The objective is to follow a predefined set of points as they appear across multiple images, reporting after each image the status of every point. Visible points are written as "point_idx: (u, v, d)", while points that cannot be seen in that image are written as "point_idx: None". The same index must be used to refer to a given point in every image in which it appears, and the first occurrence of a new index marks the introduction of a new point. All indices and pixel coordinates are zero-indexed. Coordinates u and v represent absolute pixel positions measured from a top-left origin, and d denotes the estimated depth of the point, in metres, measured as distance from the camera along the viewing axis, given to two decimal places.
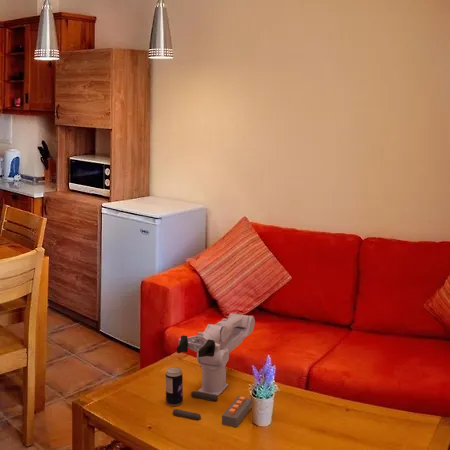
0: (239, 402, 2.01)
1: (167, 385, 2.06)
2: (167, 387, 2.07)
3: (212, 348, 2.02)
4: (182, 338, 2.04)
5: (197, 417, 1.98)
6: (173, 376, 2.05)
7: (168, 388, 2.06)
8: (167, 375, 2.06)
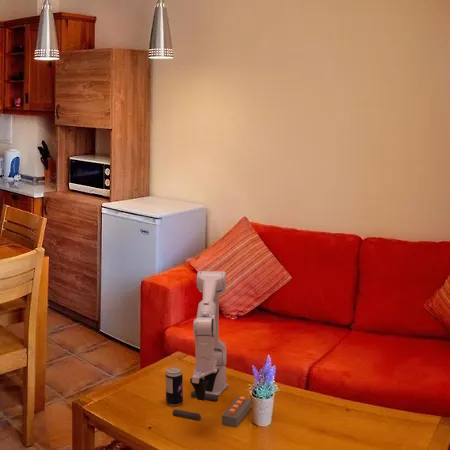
0: (239, 402, 2.01)
1: (167, 385, 2.06)
2: (167, 387, 2.07)
3: None
4: (205, 386, 1.87)
5: (197, 417, 1.98)
6: (173, 376, 2.05)
7: (168, 388, 2.06)
8: (167, 375, 2.06)
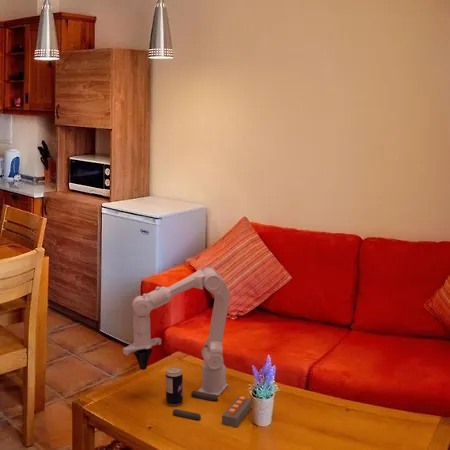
0: (239, 402, 2.01)
1: (167, 385, 2.06)
2: (167, 387, 2.07)
3: None
4: (142, 357, 2.09)
5: (197, 417, 1.98)
6: (173, 376, 2.05)
7: (168, 388, 2.06)
8: (167, 375, 2.06)
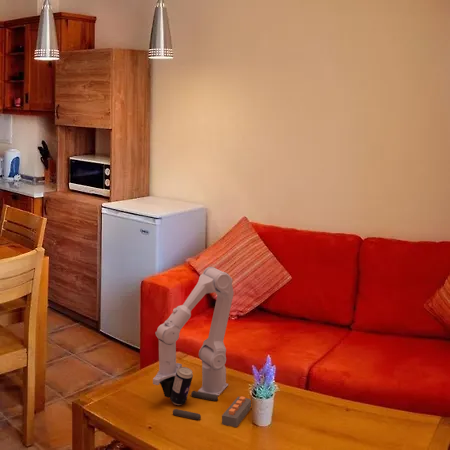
0: (239, 402, 2.01)
1: (175, 384, 2.05)
2: (175, 386, 2.05)
3: None
4: (170, 384, 2.07)
5: (197, 417, 1.98)
6: (184, 377, 2.04)
7: (175, 387, 2.05)
8: (178, 375, 2.04)
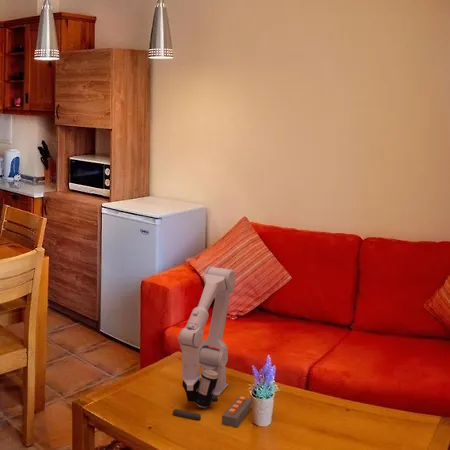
0: (239, 402, 2.01)
1: (202, 386, 2.03)
2: (201, 388, 2.04)
3: None
4: (197, 387, 2.04)
5: (197, 417, 1.98)
6: (212, 378, 2.03)
7: (202, 390, 2.03)
8: (205, 376, 2.03)
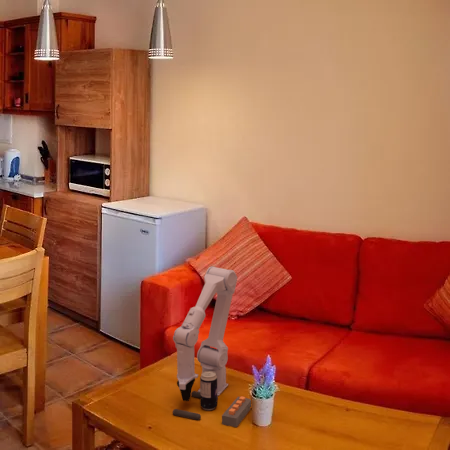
0: (239, 402, 2.01)
1: (204, 390, 2.03)
2: (204, 392, 2.03)
3: None
4: (191, 387, 2.05)
5: (197, 417, 1.98)
6: (211, 380, 2.02)
7: (205, 393, 2.03)
8: (204, 380, 2.02)
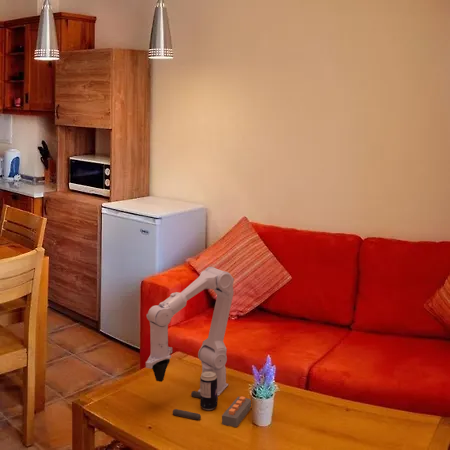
0: (239, 402, 2.01)
1: (204, 390, 2.03)
2: (204, 392, 2.03)
3: None
4: (163, 368, 2.02)
5: (197, 417, 1.98)
6: (211, 380, 2.02)
7: (205, 393, 2.03)
8: (204, 380, 2.02)
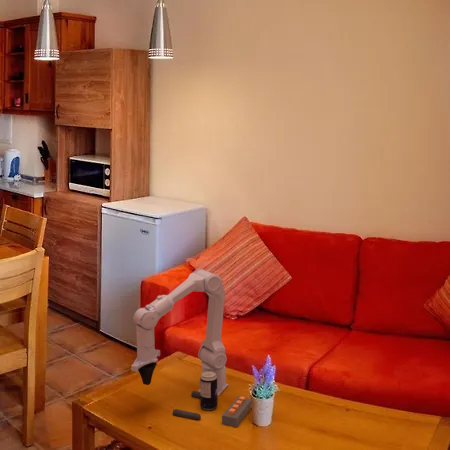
0: (239, 402, 2.01)
1: (204, 390, 2.03)
2: (204, 392, 2.03)
3: None
4: (149, 371, 2.00)
5: (197, 417, 1.98)
6: (211, 380, 2.02)
7: (205, 393, 2.03)
8: (204, 380, 2.02)
